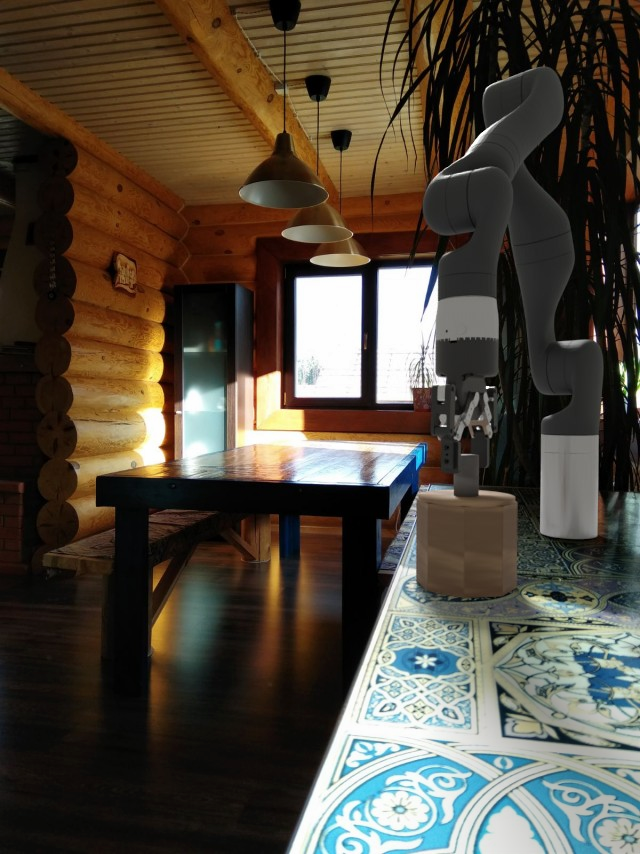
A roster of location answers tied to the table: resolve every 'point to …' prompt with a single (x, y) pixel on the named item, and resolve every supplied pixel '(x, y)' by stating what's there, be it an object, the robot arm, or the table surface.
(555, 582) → the table surface
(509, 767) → the table surface
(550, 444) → the robot arm
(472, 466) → the tan jar with knob
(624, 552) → the table surface
